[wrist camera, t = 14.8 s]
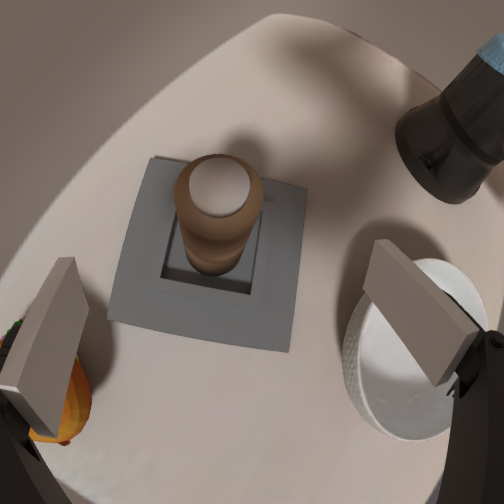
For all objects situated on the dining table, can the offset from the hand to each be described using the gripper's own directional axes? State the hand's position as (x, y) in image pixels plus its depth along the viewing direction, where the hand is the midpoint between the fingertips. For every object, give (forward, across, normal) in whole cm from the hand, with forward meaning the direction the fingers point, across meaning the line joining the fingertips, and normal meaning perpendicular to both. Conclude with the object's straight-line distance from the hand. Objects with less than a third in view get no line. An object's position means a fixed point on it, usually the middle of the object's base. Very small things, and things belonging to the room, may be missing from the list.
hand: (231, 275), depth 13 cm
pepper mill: (+14, 0, -6) cm, 15 cm away
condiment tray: (+14, 0, -7) cm, 16 cm away
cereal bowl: (+6, +18, -15) cm, 24 cm away
